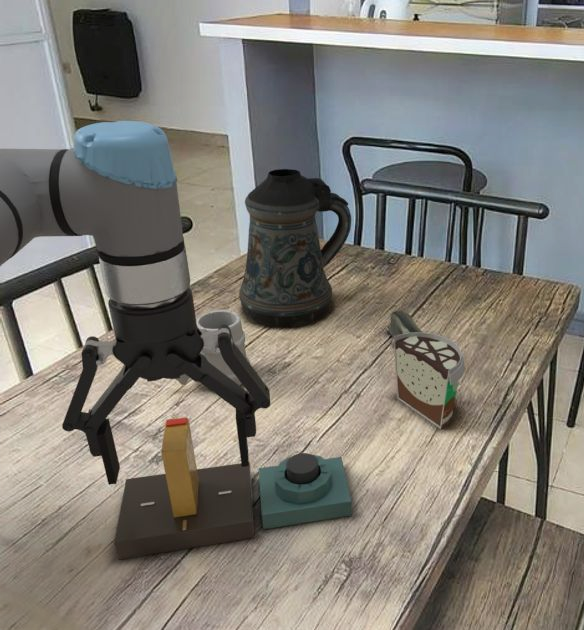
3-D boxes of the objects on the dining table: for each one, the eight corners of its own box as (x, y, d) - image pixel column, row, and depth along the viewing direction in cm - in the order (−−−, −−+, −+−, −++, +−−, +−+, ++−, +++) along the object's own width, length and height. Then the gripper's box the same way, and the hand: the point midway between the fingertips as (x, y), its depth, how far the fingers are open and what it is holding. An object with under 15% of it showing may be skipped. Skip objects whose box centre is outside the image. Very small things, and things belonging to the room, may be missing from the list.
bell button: (288, 487, 77) (287, 475, 76) (286, 466, 80) (285, 455, 79) (320, 482, 78) (319, 470, 77) (316, 462, 81) (316, 450, 80)
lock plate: (118, 559, 72) (113, 541, 70) (129, 495, 80) (125, 477, 79) (254, 537, 75) (252, 519, 74) (251, 477, 83) (249, 460, 82)
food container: (480, 417, 96) (485, 356, 91) (448, 434, 92) (451, 371, 87) (422, 379, 104) (424, 322, 99) (390, 394, 100) (391, 335, 96)
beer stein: (222, 307, 123) (205, 171, 112) (306, 276, 136) (299, 151, 125) (279, 339, 114) (267, 194, 102) (363, 302, 126) (361, 170, 115)
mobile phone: (440, 343, 104) (398, 301, 116) (422, 348, 103) (381, 304, 114) (438, 371, 106) (397, 327, 118) (421, 375, 105) (381, 330, 117)
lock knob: (196, 514, 74) (185, 447, 70) (173, 517, 74) (160, 450, 70) (198, 481, 79) (188, 416, 75) (177, 483, 79) (165, 418, 74)
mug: (260, 380, 103) (252, 309, 97) (182, 406, 96) (170, 332, 91) (239, 358, 108) (231, 290, 102) (164, 382, 102) (151, 310, 96)
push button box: (263, 529, 76) (260, 502, 74) (260, 482, 83) (257, 456, 81) (351, 515, 78) (351, 488, 76) (341, 470, 85) (340, 444, 83)
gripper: (281, 266, 70) (294, 431, 80) (15, 285, 65) (64, 460, 75) (286, 298, 64) (299, 473, 74) (-9, 322, 58) (48, 508, 68)
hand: (181, 467), depth 74 cm, fingers open, 13 cm apart
